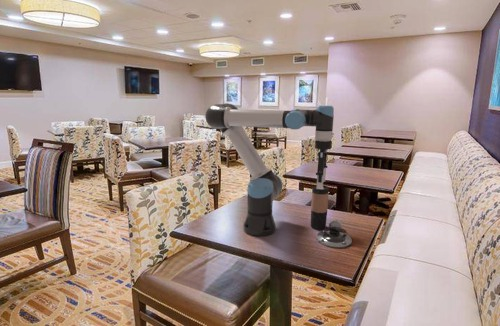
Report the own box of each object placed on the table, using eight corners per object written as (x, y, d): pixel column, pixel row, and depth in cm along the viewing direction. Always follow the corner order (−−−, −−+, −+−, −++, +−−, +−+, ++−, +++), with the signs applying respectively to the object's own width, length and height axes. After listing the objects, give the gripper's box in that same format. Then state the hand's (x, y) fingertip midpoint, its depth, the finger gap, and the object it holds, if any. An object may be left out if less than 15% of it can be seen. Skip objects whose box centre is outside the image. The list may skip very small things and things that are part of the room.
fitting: (314, 244, 134) (315, 232, 133) (319, 225, 154) (320, 214, 153) (351, 250, 130) (352, 237, 129) (351, 229, 150) (352, 218, 149)
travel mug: (326, 230, 148) (329, 190, 144) (309, 229, 150) (312, 188, 146) (325, 224, 156) (328, 185, 151) (310, 223, 157) (312, 184, 153)
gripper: (330, 144, 131) (327, 193, 135) (333, 137, 154) (330, 179, 159) (311, 143, 133) (309, 191, 138) (317, 136, 156) (315, 177, 161)
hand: (321, 185), depth 148 cm, fingers open, 13 cm apart
